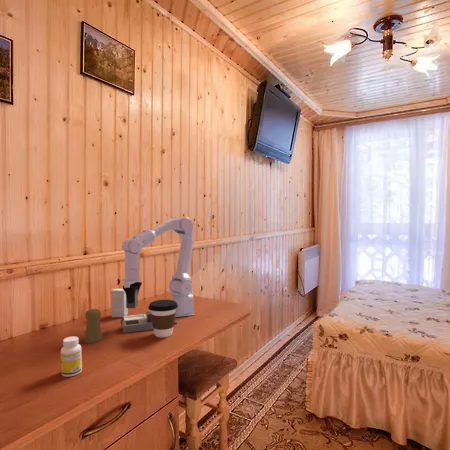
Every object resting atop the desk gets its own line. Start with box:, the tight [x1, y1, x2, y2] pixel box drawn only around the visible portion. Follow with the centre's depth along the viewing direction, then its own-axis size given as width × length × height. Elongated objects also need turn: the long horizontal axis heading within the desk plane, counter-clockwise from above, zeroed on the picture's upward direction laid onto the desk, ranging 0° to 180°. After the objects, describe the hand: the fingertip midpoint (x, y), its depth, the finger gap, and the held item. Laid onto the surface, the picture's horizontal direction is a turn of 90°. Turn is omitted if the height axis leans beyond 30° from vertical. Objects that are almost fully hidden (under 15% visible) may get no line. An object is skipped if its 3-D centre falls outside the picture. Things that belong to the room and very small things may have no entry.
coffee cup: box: [148, 299, 178, 339], centre depth 122 cm, size 11×11×12 cm
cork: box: [83, 308, 103, 344], centre depth 117 cm, size 6×6×11 cm
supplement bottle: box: [60, 336, 83, 378], centre depth 93 cm, size 5×5×10 cm
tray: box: [123, 313, 146, 321], centre depth 139 cm, size 9×7×1 cm
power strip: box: [122, 311, 178, 334], centre depth 131 cm, size 22×7×6 cm, turn 110°
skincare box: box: [110, 288, 129, 318], centre depth 145 cm, size 6×4×12 cm
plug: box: [126, 289, 139, 309], centre depth 131 cm, size 4×4×7 cm
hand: (132, 301), depth 131 cm, fingers closed on plug, 4 cm apart
